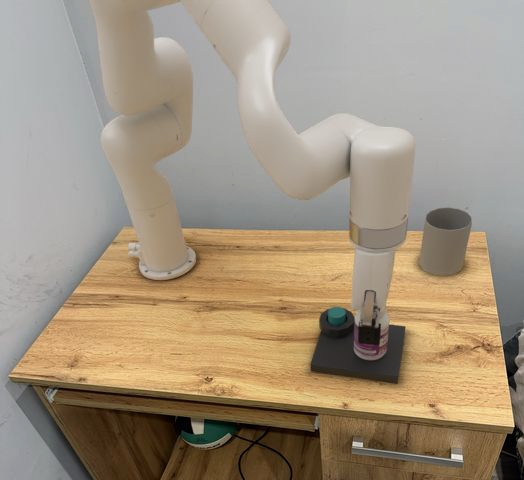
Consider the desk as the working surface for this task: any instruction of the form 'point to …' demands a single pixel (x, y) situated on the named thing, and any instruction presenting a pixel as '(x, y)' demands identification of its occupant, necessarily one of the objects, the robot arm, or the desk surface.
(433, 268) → the cup
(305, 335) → the desk surface
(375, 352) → the pill bottle
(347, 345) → the scale
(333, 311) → the button
